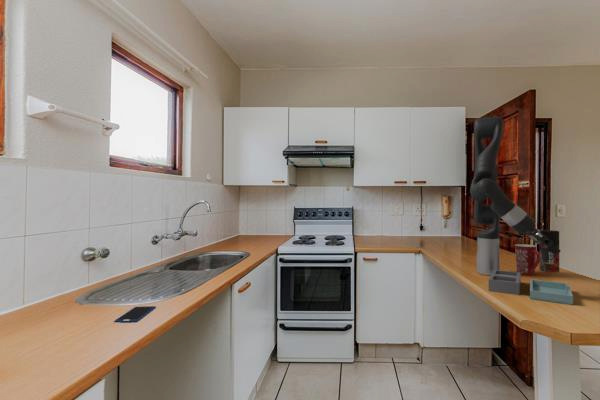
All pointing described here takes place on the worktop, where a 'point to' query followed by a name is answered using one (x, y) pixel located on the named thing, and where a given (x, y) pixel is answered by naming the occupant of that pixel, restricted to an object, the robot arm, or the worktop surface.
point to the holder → (505, 282)
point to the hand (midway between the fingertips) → (554, 251)
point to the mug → (526, 258)
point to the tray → (551, 292)
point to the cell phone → (135, 314)
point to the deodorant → (549, 253)
